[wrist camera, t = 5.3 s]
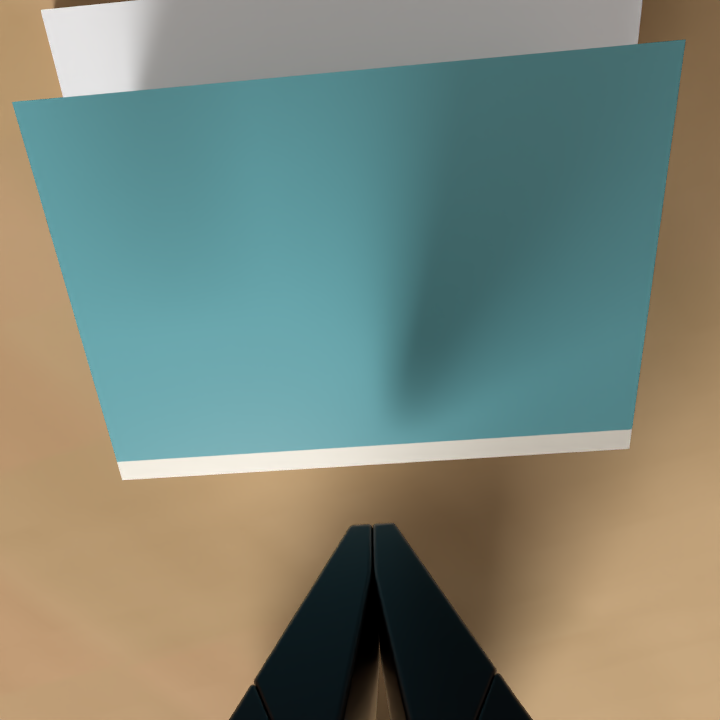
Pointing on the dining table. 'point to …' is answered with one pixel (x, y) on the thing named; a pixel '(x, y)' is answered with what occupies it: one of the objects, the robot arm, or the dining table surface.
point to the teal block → (363, 258)
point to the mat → (310, 37)
